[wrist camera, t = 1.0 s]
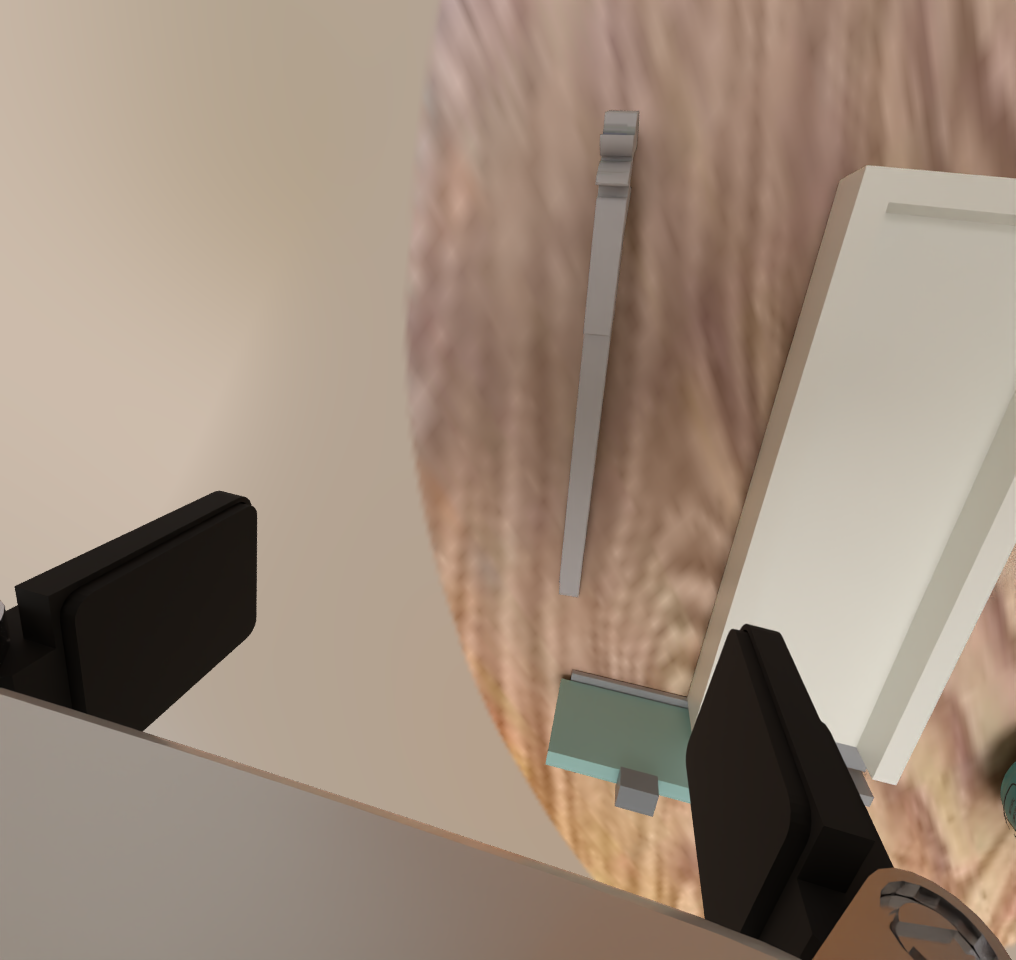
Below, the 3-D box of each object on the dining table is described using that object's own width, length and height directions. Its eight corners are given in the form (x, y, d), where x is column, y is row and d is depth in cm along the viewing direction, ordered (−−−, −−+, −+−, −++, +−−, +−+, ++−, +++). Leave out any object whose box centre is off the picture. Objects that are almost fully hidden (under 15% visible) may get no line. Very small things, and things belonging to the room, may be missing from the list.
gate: (717, 713, 28) (738, 817, 22) (711, 731, 28) (730, 838, 23) (561, 675, 29) (545, 765, 24) (558, 693, 30) (541, 785, 24)
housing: (1119, 206, 19) (1187, 194, 16) (856, 779, 28) (877, 823, 26) (674, 164, 21) (679, 148, 19) (565, 705, 30) (559, 740, 28)
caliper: (610, 136, 22) (602, 77, 16) (639, 136, 21) (641, 77, 16) (559, 589, 28) (540, 666, 23) (581, 593, 28) (567, 671, 22)
